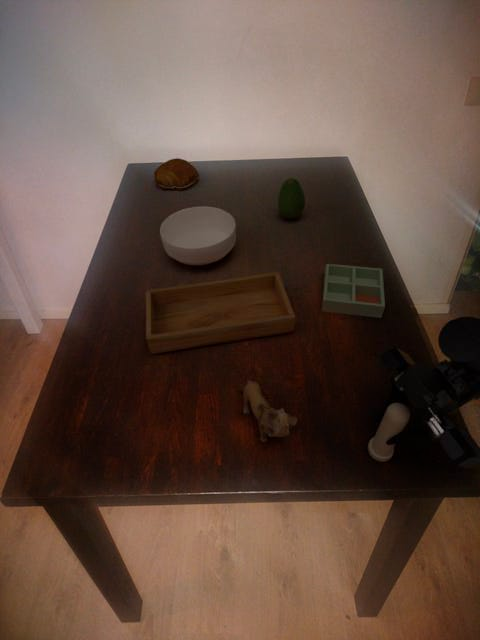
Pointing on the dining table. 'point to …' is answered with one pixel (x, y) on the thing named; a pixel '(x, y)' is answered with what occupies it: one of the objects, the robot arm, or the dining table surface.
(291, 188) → the fruit
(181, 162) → the croissant
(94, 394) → the dining table surface
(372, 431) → the dining table surface
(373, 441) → the beige rounded cylinder
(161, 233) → the bowl
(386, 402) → the robot arm
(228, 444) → the dining table surface
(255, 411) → the lion figurine
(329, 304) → the grid
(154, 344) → the tray
